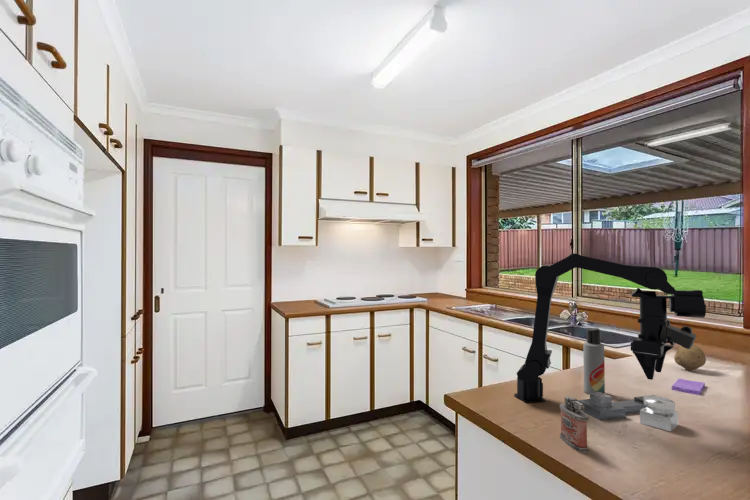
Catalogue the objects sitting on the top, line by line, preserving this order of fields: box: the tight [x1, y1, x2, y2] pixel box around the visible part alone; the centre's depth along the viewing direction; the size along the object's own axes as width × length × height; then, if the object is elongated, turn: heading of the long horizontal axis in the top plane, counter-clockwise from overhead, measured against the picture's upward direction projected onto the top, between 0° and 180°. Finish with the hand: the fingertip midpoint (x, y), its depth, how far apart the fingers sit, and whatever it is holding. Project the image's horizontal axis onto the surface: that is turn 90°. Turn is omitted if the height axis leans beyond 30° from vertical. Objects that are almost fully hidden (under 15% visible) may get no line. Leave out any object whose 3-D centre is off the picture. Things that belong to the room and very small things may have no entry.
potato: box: [673, 344, 707, 372], centre depth 146 cm, size 9×9×10 cm
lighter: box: [559, 395, 589, 454], centre depth 87 cm, size 8×3×10 cm, turn 5°
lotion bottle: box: [582, 327, 606, 395], centre depth 121 cm, size 6×6×20 cm
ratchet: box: [577, 392, 656, 422], centre depth 107 cm, size 24×8×5 cm, turn 104°
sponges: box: [671, 378, 706, 396], centre depth 126 cm, size 7×13×2 cm, turn 134°
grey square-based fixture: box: [639, 395, 679, 432], centre depth 98 cm, size 6×6×6 cm
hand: (654, 375), depth 100 cm, fingers open, 9 cm apart
